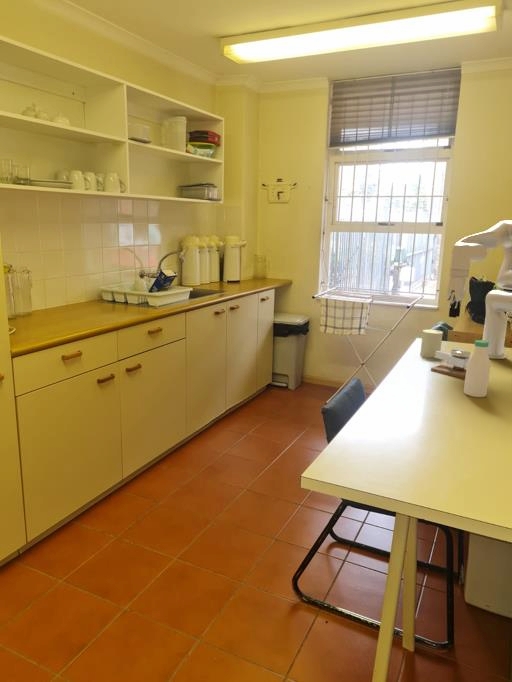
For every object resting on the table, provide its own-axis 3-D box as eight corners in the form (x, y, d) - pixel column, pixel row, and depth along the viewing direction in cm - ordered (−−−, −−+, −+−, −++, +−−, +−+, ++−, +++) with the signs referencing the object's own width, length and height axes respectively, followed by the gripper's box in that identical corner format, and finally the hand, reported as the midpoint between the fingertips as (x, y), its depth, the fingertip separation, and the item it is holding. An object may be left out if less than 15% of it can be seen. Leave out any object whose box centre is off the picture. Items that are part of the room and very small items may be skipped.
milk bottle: (488, 398, 181) (496, 344, 177) (465, 396, 182) (472, 342, 178) (483, 392, 188) (490, 339, 184) (461, 390, 190) (468, 338, 185)
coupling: (440, 357, 224) (441, 344, 222) (471, 365, 213) (473, 351, 212) (431, 360, 219) (432, 346, 218) (462, 367, 208) (464, 354, 207)
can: (443, 357, 237) (446, 332, 234) (423, 357, 237) (426, 332, 234) (436, 352, 246) (439, 328, 243) (417, 352, 246) (420, 328, 243)
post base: (450, 364, 225) (452, 349, 223) (485, 373, 213) (488, 357, 212) (430, 370, 215) (432, 354, 213) (466, 379, 203) (468, 363, 201)
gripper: (456, 272, 222) (451, 313, 226) (443, 274, 210) (438, 317, 214) (474, 273, 218) (468, 315, 222) (462, 275, 205) (456, 320, 209)
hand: (454, 316), depth 218 cm, fingers open, 2 cm apart
